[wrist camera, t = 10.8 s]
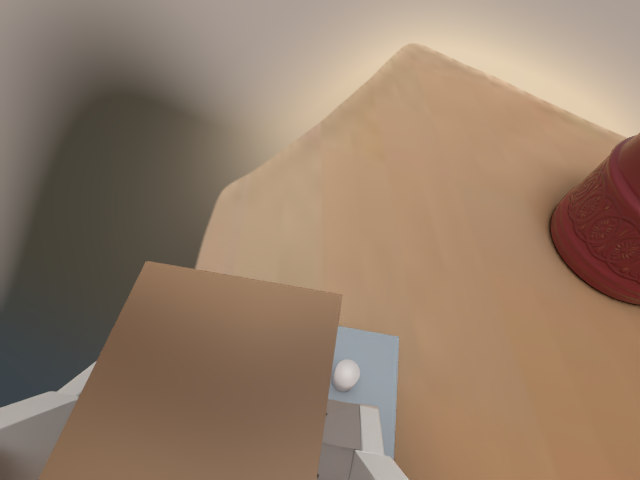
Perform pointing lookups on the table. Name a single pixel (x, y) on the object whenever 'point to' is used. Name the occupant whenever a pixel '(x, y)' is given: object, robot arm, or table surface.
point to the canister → (604, 225)
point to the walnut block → (205, 383)
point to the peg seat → (367, 375)
